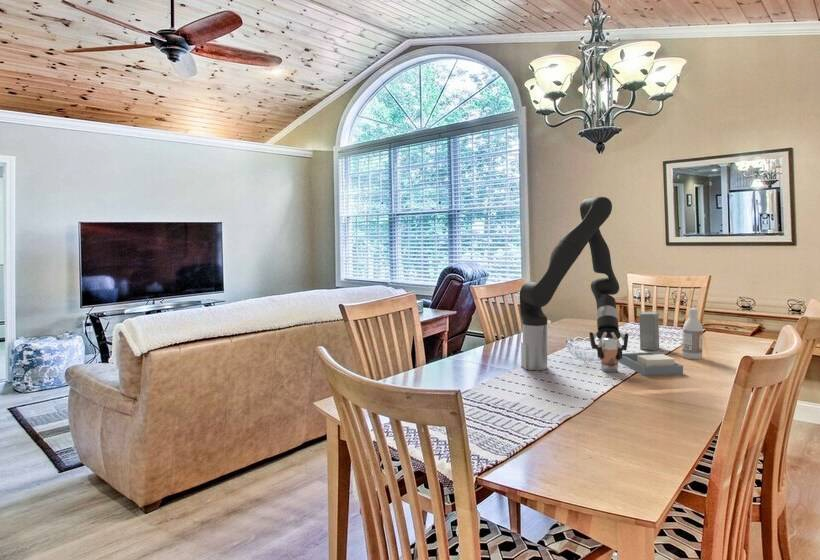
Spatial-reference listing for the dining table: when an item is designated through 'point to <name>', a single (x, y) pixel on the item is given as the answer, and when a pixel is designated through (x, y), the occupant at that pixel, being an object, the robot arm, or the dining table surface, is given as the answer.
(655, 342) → the skincare box
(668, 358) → the egg box
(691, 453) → the dining table surface
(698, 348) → the bath foam
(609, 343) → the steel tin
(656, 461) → the dining table surface
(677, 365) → the tray
